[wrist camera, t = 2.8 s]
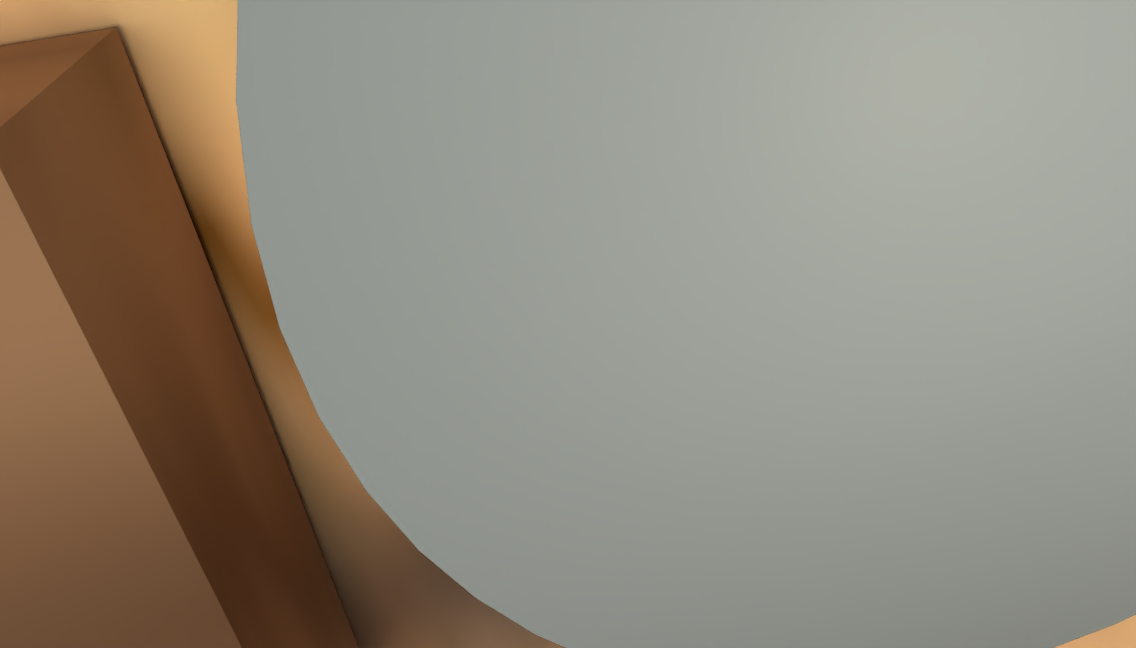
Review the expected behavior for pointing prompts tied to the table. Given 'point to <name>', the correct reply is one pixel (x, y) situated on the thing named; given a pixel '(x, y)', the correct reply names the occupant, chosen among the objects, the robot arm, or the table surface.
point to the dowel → (719, 305)
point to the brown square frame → (129, 393)
